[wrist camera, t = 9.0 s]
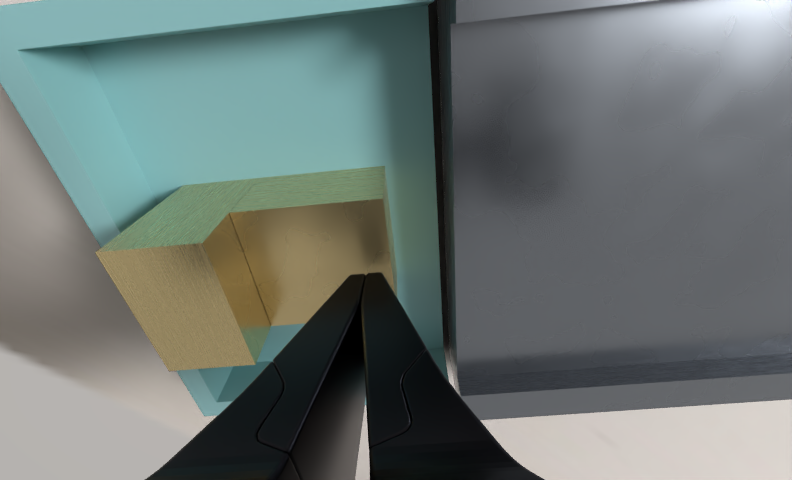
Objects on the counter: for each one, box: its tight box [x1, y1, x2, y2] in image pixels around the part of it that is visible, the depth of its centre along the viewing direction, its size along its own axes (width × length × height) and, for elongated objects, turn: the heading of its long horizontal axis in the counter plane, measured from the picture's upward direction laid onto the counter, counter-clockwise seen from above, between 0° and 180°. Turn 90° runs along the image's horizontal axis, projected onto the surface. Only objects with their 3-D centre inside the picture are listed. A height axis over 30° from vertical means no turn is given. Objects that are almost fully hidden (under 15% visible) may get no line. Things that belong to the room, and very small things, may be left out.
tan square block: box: [229, 166, 397, 326], centre depth 11 cm, size 4×4×2 cm
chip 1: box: [95, 178, 271, 371], centre depth 11 cm, size 4×4×2 cm
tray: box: [0, 0, 449, 416], centre depth 12 cm, size 14×10×2 cm
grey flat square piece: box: [437, 0, 792, 420], centre depth 11 cm, size 14×14×3 cm
